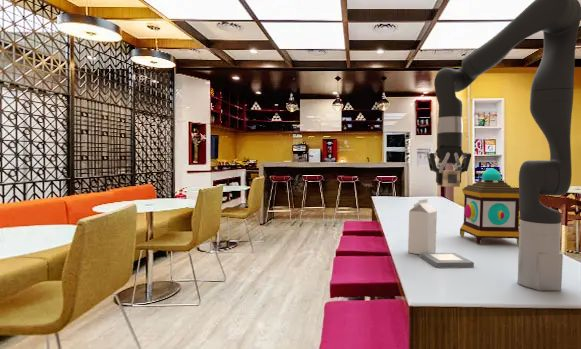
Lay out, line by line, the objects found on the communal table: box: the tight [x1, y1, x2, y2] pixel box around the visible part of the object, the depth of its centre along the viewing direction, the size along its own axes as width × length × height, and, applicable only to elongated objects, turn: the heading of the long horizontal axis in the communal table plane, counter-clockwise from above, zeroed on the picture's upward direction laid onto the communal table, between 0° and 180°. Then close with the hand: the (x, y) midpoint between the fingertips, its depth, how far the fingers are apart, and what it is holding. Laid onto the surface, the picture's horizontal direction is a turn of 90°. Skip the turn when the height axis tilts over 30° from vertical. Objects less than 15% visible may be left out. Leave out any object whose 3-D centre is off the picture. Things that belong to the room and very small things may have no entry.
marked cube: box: [436, 169, 461, 188], centre depth 122 cm, size 5×5×5 cm
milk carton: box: [407, 198, 438, 256], centre depth 135 cm, size 7×7×19 cm
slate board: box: [419, 252, 475, 268], centre depth 124 cm, size 12×12×2 cm
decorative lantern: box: [459, 167, 520, 246], centre depth 157 cm, size 20×20×30 cm
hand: (448, 184), depth 123 cm, fingers closed on marked cube, 5 cm apart
